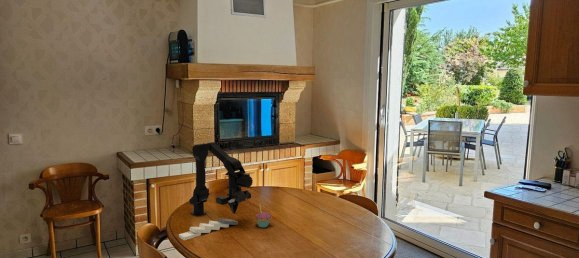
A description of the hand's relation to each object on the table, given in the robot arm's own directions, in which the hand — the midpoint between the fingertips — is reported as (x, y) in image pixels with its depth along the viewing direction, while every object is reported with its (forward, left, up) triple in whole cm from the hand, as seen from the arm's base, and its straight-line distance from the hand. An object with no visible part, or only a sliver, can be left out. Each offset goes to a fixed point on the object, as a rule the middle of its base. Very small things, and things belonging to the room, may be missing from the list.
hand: (233, 213), depth 207 cm
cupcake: (+12, +10, -6) cm, 17 cm away
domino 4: (0, -5, -5) cm, 7 cm away
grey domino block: (0, +1, -5) cm, 5 cm away
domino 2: (0, -16, -5) cm, 17 cm away
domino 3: (0, -10, -5) cm, 11 cm away
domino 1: (0, -21, -5) cm, 22 cm away
